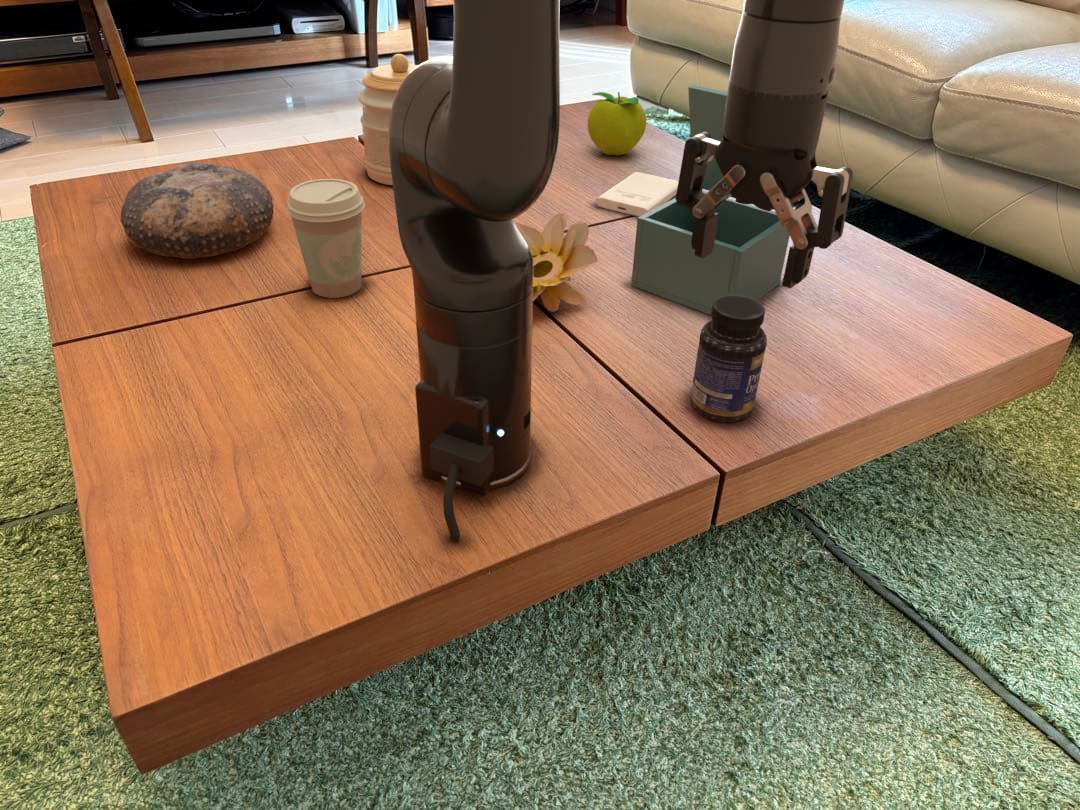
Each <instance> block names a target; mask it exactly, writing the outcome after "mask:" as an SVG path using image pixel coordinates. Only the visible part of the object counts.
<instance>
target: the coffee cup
mask: <svg viewBox="0 0 1080 810" xmlns="http://www.w3.org/2000/svg"><path fill="white" fill-rule="evenodd" d="M288 195H289V196H288V199H287V203H286V206H287V208H286V212H287V213H288V215H289V216H290V217H291V221H292V224H293V228H294V231H295V236H296V238H297V242H298V245H299V249H300V252H301V256H302V260H303V262H304V263H303V264H304V266H305V270H306V274H307V276H308V281H309V283H310V287H311V291H312V292H313V293H314V294H315V295H317V296H320V297H322V298H329V299H337V298H344V297H347V296H348V297H350V296H351V295H353V294H356V293H357V292H358V291H359V290H360V289H361V287H362V277H363V275H362V271H363V270H362V269H363V263H362V262H363V249H362V248H363V210H364V209H365V205H366V204H365V201H364V198H363V196H362V195H361V193H360V190H359V188H358V186H357V185H356V184H355V183H353V182H351V181H349V180H346V179H339V178H319V179H312V180H307V181H303V182H301V183H298V184H296V185H295V186H293V187H292V188H291V189H290V191H289V194H288Z"/></svg>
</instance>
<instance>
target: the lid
mask: <svg viewBox="0 0 1080 810" xmlns="http://www.w3.org/2000/svg"><path fill="white" fill-rule="evenodd" d="M687 89H688V90H687V91H688V111H689V134H690V135H689V136H690V138H692V137H694V136H696V135H698V134H700V133H703V132H708V133H709V134H710V135H711V137H712V139H713V140H716V141H720V142H721V140H722V138H723V130H722V128H723V121H724V114H725V107H726V100H727V93H728V91H726V90H721V89H716V88H712V87H707V86H704V85H698V84H693V83H691V84H690V85H689V86H688V88H687ZM722 178H723V176H722V173H721V171H720V169H719V167H718V164H717V162H716V159H715V156H714V157H713V159H712V161H710V162H709V163H707V168H706V173H705V179H704V184H703V189H702V190H704V191H707V192H708V191H709V190H711V189H712V188H713V187H714V186H715V185H716V184H717V183H718V182H719V181H720V180H721V179H722ZM729 198H731V199H735V198H734V197H733V196H732V195H731V196H730V197H729ZM790 203H791V206H792V207H793V204H792V201H791V200H790Z"/></svg>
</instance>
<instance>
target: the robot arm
mask: <svg viewBox="0 0 1080 810" xmlns="http://www.w3.org/2000/svg"><path fill="white" fill-rule="evenodd" d="M560 1H561V0H453V42H452V55H451V56H450V55H443V56H437V57H432V58H430V59H428V60H426V61H423V62H421V63H420V64H417V65H418V66H417V67H416V68H414V69H413V70H412V71H411V72H410V73H409V74H408V75H407V77H406V78H405V79H404V80H403V82H402V84H401V85H400V87H399V89H398V91H397V93H396V96H395V98H394V101H393V104H392V108H391V113H390V120H389V156H390V165H391V174H392V182H393V185H392V189H393V190H392V191H393V197H394V203H395V204H394V205H395V213H396V221H397V228H398V235H399V239H400V243H401V247H402V250H403V252H404V255H405V257H406V259H407V261H408V264H409V266H410V270H411V274H412V283H413V285H412V286H413V297H414V298H413V299H414V310H415V311H414V313H415V325H416V326H415V327H416V338H417V341H416V342H417V353H418V366H419V380H420V381H419V382H418V383H417V384H416V385H415V388H414V389H415V402H416V403H415V404H416V414H417V427H418V428H417V429H418V440H419V452H420V465H421V475H422V476H423V477H426V478H429V479H432V480H435V481H438V482H440V483H442V484H444V485H445V486H444V490H443V497H442V498H443V499H442V509H443V511H442V512H443V516H444V520H445V524H446V528H447V530H448V533H449V539H450V540H451V541H452V542H458V541H460V538H461V533H460V528H459V525H458V523H457V519H456V516H455V515H456V514H455V509H454V499H455V498H454V496H455V490H456V488H457V489H459V490H462V491H465V492H467V493H470V494H473V495H476V496H478V497H485V496H486V494H487V493H488V492H489V491H491V490H493V489H497V488H500V487H504V486H506V485H508V484H510V483H512V482H515V481H516V480H517V479H519V478H520V477H521V476H522V475H523V474H524V473H526V471H527V469H528V468H529V466H530V463H531V461H532V445H531V430H532V370H533V369H532V367H533V366H532V364H533V363H532V361H533V318H534V317H533V316H534V312H533V311H534V301H533V271H534V268H533V256H532V252H531V249H530V247H529V245H528V243H527V242H526V240H525V239H524V237H523V236H522V234H521V233H520V231H519V230H518V228H517V226H516V225H515V223H516V222H515V221H514V219H516V218H518V217H519V216H521V215H523V214H524V213H526V212H527V211H528V210H529V209H530V208H532V206H534V204H535V203H536V202H537V201H538V200H539V198H540V196H541V195H542V194H543V192H544V190H545V189H546V187H547V185H548V182H549V181H550V178H551V176H552V172H553V169H554V166H555V162H556V159H557V154H558V147H559V137H560V119H561V118H560V115H561V110H560V109H561V97H560V95H561V94H560V91H561V90H560V89H561V88H560V86H561V85H560V4H561V3H560ZM844 5H845V0H743V6H742V9H743V10H742V12H741V17H740V21H739V25H738V29H737V33H736V37H735V40H734V43H733V44H734V45H733V51H732V59H731V64H730V73H729V80H728V86H727V92H728V93H727V100H726V107H725V114H724V121H723V128H722V130H723V138H722V140H721V142H720V141H716V140H713V139H712V137H711V135H710V134H709V133H708V132H703V133H700V134H698V135H696V136H694V137H692V138H691V137H690V138H688V139H687V140H685V142H684V148H683V154H682V160H681V166H680V171H679V177H678V181H679V182H678V188H677V193H676V195H675V198H676V202H677V203H678V204H679V205H680V206H684V205H685V206H687V207H688V208H689V209H691V210H692V212H693V214H694V224H693V233H692V239H691V245H692V249H695V256H696V257H699V258H702V259H703V258H705V257H706V256H708V255H709V254H710V253H711V252H712V251H713V248H714V242H715V235H716V228H717V221H718V215H719V213H715V210H716V209H717V208H718V207H719V206H720V205H721V204H722V203H723V202H725V201H726V200H727V199H728V198H729V199H730V198H731V197H730V196H731V195H732V196H733V197H734V198H733V199H734V200H736V202H738V203H741V204H750V205H753V206H756V207H758V208H760V209H762V210H766V211H774V212H776V214H777V216H778V219H779V221H780V223H781V224H782V225H783V226H785V227H786V228H787V230H788V233H789V235H790V237H789V238H790V240H791V241H792V243H793V244H792V245H791V246H790V247H789V249H788V254H787V259H786V263H785V268H784V273H783V278H782V284H781V285H782V287H784V288H787V289H793V288H794V287H795V286H796V285H799V284H800V283H801V282H802V281H804V280H805V279H806V277H808V275H809V273H810V269H811V263H812V259H813V255H814V251H815V248H819V249H822V250H825V249H828V248H829V247H830V246H831V245H832V244H833V243H835V242H836V241H838V240H839V239H841V237H843V234H844V233H843V232H844V227H845V221H846V217H847V212H848V211H847V210H848V206H849V205H848V204H849V199H850V193H851V188H852V183H853V178H854V172H853V170H852V168H851V167H848V166H842V167H840V168H838V169H834V168H830V167H823V166H819V165H818V162H817V157H816V152H817V147H818V144H819V140H820V136H821V131H822V126H823V122H824V117H825V112H826V107H827V103H828V97H829V92H830V87H831V84H832V82H833V80H834V76H835V71H836V67H835V65H836V59H837V55H838V48H839V36H840V35H839V34H840V27H841V26H840V24H841V20H842V19H841V18H842V17H841V16H842V14H843V9H844ZM714 156H715V159H716V162H717V164H718V167H719V169H720V171H721V173H722V176H723V178H722V179H721V180H720V181H719V182H718V183H717V184H716V185H715V186H714V187H713V188H712V189H711V190H709V191H708V190H707V191H706V192H707V193H706V194H704V193H703V192H702V191H703V190H704V189H703V184H704V179H705V173H706V168H707V163H709V162H710V161H712V159H713V157H714ZM812 182H813V183H814V184H815V185H816V188H817V189H816V191H817V195H818V196H819V197H820V198H822V199H821V205H820V211H819V216H818V217H819V218H818V222H816V219H815V217H814V214H813V211H812V210H813V206H812V203H811V200H810V198H809V196H808V194H807V192H806V190H805V188H806V187H808V185H810V184H811V183H812ZM790 200H791V201H792V204H793V207H792V206H791V203H790ZM817 223H818V224H817Z"/></svg>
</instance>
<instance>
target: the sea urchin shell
mask: <svg viewBox="0 0 1080 810" xmlns="http://www.w3.org/2000/svg"><path fill="white" fill-rule="evenodd" d="M274 206H275V205H274V202H273V196H272V194H271V192H270V190H269V189H268V188H267V187H266V186H265V184H264V183H263V182H261V181H260V179H259V178H256V177H255V176H254V175H253V174H250V173H248V172H247V171H244V170H242V169H237V168H235V167H232V166H227V165H224V166H223V165H222V166H221V165H218V164H214V163H200V162H190V163H187V164H181V165H178V166H176V167H173V168H171V169H168V170H166V171H165V170H164V171H159V172H157V173H153V174H151V175H148V176H145V177H144V178H143V177H142V179H140V180H139V181H137V182H136V183H135V184H134V185H132V186H131V188H129V190H128V191H127V193H126V196H125V198H124V202H123V205H122V206H121V210H120V223H121V224H122V227H123V229H124V233H125V234H126V235H127V237H128V239H129V240H130V242H133V243H134V244H135V245H136V247H138V248H141V249H143V250H144V251H146V252H150V253H153V254H155V255H157V256H164V257H167V258H169V257H175V258H181V259H200V258H211V257H216V256H218V255H222V254H224V253H227V252H228V253H229V252H235V251H238V250H240V249H243V248H245V247H246V246H247V245H249V244H251V243H253V242H254V241H256V240H258V239H260V237H261V236H262V235H263V234H265V232H266V231H267V230H268V229H269V227H270V225H271V224H272V220H273V218H274V208H275V207H274Z"/></svg>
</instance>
